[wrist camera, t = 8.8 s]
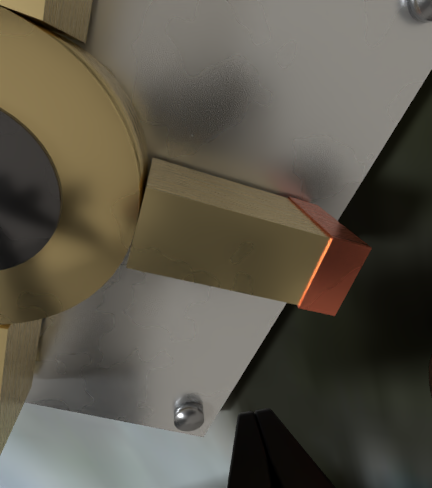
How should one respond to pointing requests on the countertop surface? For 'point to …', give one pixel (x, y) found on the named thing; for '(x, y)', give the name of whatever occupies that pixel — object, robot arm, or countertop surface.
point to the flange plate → (227, 177)
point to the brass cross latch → (124, 201)
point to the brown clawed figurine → (430, 374)
